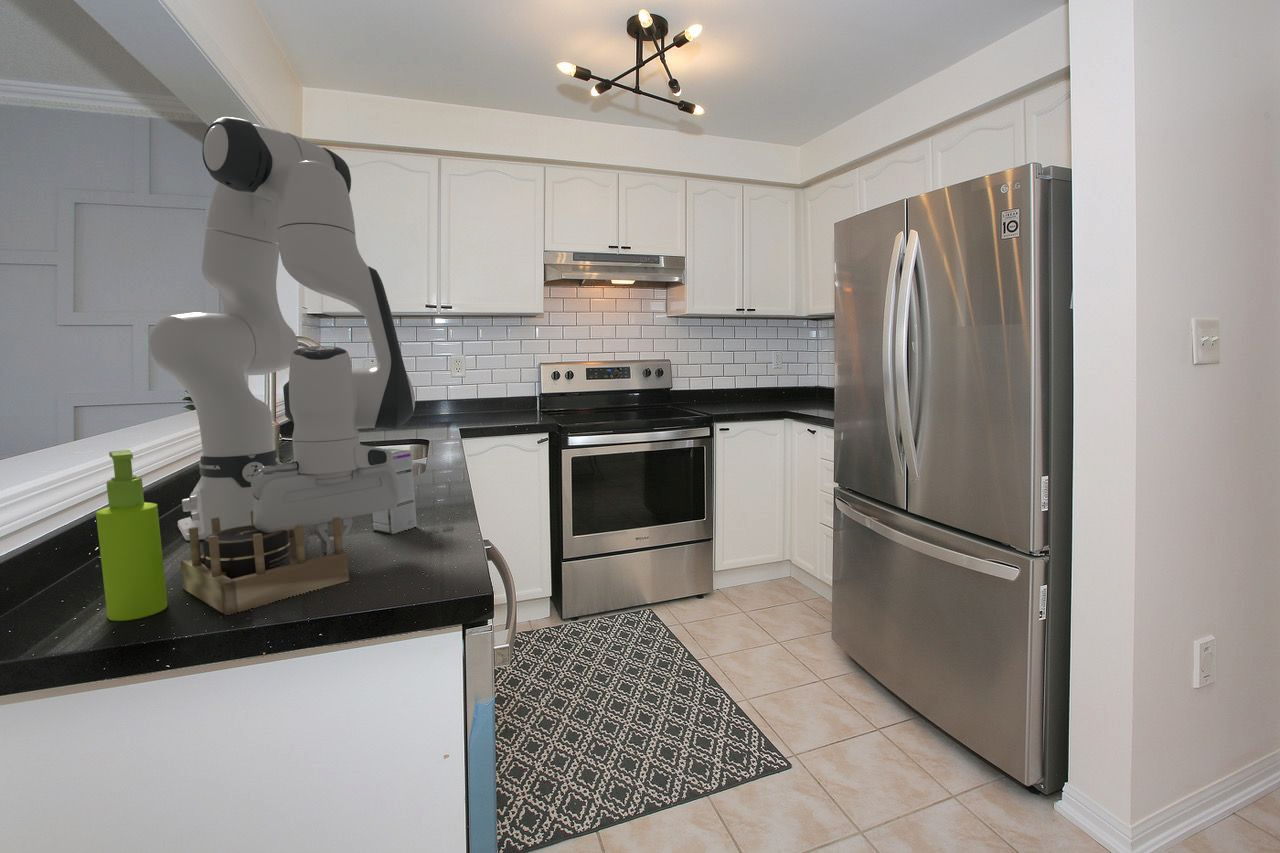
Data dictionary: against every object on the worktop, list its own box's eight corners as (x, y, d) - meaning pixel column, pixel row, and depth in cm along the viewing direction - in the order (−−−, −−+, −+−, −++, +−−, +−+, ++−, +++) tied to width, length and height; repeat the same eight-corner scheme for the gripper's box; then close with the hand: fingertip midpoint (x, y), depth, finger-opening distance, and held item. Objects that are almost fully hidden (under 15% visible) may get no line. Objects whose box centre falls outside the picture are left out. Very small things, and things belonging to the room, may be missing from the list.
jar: (188, 600, 83) (182, 543, 82) (240, 574, 93) (236, 523, 92) (263, 601, 82) (258, 543, 82) (307, 574, 92) (303, 522, 92)
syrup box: (418, 527, 117) (413, 448, 116) (390, 535, 112) (385, 453, 111) (397, 523, 120) (393, 446, 119) (370, 531, 115) (364, 451, 114)
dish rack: (183, 588, 87) (177, 524, 86) (299, 560, 99) (294, 502, 98) (227, 615, 78) (220, 543, 77) (349, 580, 90) (344, 517, 89)
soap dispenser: (162, 596, 84) (147, 446, 82) (170, 611, 79) (154, 451, 77) (105, 609, 80) (87, 451, 78) (109, 625, 75) (91, 457, 73)
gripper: (259, 470, 84) (267, 572, 85) (402, 450, 100) (407, 537, 101) (240, 465, 88) (249, 563, 89) (381, 447, 104) (386, 531, 105)
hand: (334, 549), depth 95 cm, fingers closed
